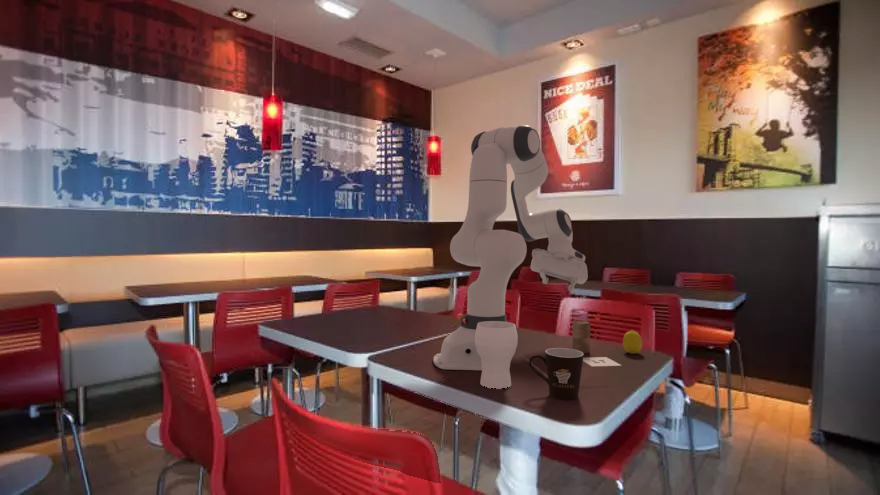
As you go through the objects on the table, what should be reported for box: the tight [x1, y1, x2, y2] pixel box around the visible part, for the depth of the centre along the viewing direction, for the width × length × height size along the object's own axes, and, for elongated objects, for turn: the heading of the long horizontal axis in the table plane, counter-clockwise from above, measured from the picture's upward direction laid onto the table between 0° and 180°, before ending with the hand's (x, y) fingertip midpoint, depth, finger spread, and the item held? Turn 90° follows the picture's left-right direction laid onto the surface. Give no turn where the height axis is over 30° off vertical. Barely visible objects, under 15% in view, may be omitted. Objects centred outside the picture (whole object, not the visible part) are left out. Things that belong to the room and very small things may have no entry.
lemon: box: [622, 329, 643, 355], centre depth 140 cm, size 6×6×8 cm
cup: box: [475, 321, 519, 390], centre depth 111 cm, size 11×11×15 cm
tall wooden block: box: [572, 320, 591, 354], centre depth 142 cm, size 4×4×10 cm
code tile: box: [583, 356, 622, 367], centre depth 130 cm, size 9×9×1 cm
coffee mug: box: [528, 347, 585, 401], centre depth 104 cm, size 12×9×10 cm
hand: (558, 286), depth 153 cm, fingers open, 8 cm apart
